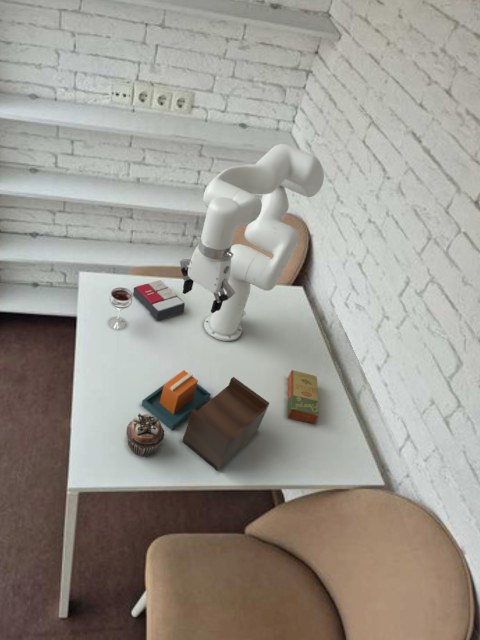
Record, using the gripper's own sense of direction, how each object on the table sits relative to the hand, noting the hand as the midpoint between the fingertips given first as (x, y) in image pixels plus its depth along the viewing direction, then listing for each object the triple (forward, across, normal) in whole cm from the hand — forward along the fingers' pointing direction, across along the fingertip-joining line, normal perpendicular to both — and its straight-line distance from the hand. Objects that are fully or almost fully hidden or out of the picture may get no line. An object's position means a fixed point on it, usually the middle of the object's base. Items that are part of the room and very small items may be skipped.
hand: (200, 301), depth 141 cm
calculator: (+28, +26, -18) cm, 42 cm away
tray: (+27, -6, +10) cm, 30 cm away
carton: (+28, -31, -18) cm, 46 cm away
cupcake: (+27, -10, +28) cm, 40 cm away
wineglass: (+28, +27, 0) cm, 39 cm away
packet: (+27, -6, +11) cm, 29 cm away
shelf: (+27, -22, +10) cm, 37 cm away
